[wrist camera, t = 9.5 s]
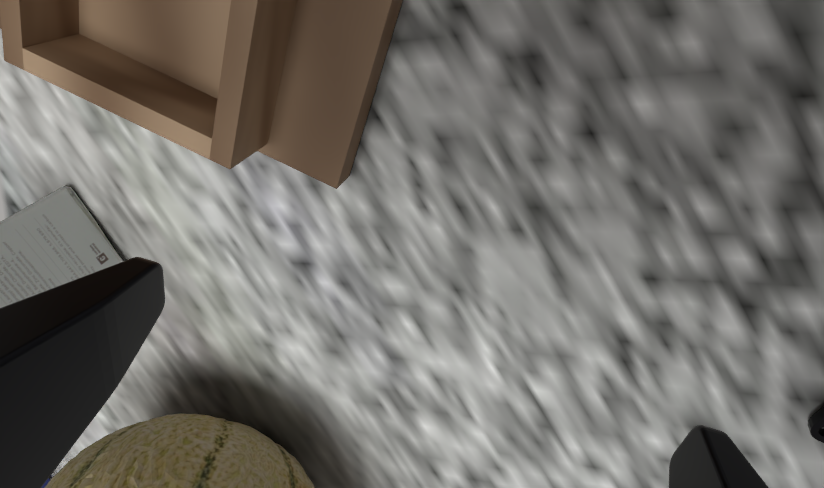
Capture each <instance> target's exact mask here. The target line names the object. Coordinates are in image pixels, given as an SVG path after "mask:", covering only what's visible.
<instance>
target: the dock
mask: <svg viewBox="0 0 824 488" xmlns="http://www.w3.org/2000/svg"><path fill="white" fill-rule="evenodd" d="M402 1H403V0H0V28H1V29H2V38H3V49H4V60H5V61H6V62H9V63H11V64H13V65H15V66H17V67H19V68H21V69H23V70H25V71H27V72H29V73H31V74H33V75H36V76H38V77H40V78H42V79H44V80H46V81H48V82H50V83H52V84H54V85H56V86H58V87H60V88H62V89H65V90H67V91H69V92H71V93H73V94H75V95H77V96H79V97H81V98H83V99H85V100H87V101H89V102H92V103H94V104H96V105H98V106H100V107H102V108H104V109H106V110H108V111H110V112H112V113H114V114H116V115H118V116H121V117H123V118H125V119H127V120H129V121H131V122H133V123H135V124H137V125H139V126H141V127H143V128H145V129H148V130H150V131H152V132H154V133H156V134H158V135H160V136H162V137H164V138H166V139H168V140H170V141H172V142H174V143H177V144H179V145H181V146H183V147H185V148H187V149H189V150H191V151H193V152H195V153H197V154H199V155H201V156H204V157H206V158H208V159H210V160H212V161H214V162H216V163H218V164H220V165H222V166H224V167H226V168H228V169H231V168H233V167H234V166H236V165H237V164H238V163H240V162H241V161H243V160H244V159H246V158H247V157H249V156H250V155H252V154H253V153H255V152H256V151H259V152H261V153H263V154H265V155H267V156H269V157H271V158H273V159H275V160H277V161H280V162H282V163H284V164H286V165H288V166H290V167H292V168H294V169H296V170H298V171H301V172H303V173H305V174H307V175H309V176H311V177H313V178H315V179H317V180H319V181H321V182H324V183H326V184H328V185H330V186H332V187H334V188H336V189H337V188H338V187H339V186H340V185H341V184H342V183H343V182H344V181H345V180H346V179H347V178H348V177H349V175H350V172H351V169H352V166H353V162H354V159H355V156H356V152H357V149H358V146H359V143H360V139H361V136H362V133H363V129H364V126H365V123H366V120H367V116H368V113H369V110H370V107H371V103H372V100H373V97H374V93H375V90H376V87H377V84H378V80H379V77H380V74H381V70H382V67H383V64H384V61H385V57H386V54H387V51H388V47H389V44H390V41H391V38H392V34H393V31H394V28H395V24H396V21H397V18H398V15H399V11H400V8H401V5H402Z"/></svg>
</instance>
